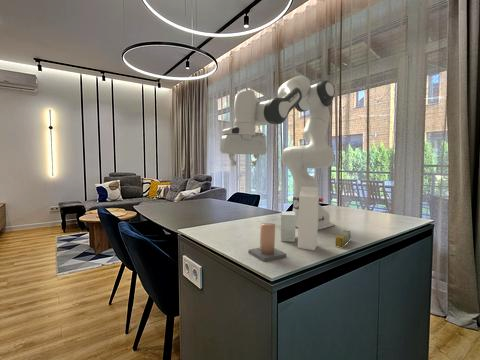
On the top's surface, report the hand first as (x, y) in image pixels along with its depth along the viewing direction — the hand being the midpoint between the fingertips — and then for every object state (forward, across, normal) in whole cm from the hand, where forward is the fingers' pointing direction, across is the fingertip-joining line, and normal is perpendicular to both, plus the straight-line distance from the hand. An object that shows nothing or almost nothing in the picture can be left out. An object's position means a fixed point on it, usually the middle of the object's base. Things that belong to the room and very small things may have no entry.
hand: (243, 165), depth 107 cm
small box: (+29, -14, +12) cm, 35 cm away
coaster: (+29, +4, +23) cm, 37 cm away
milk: (+29, -14, +23) cm, 40 cm away
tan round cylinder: (+28, +4, +23) cm, 36 cm away
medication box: (+30, -29, +26) cm, 49 cm away
